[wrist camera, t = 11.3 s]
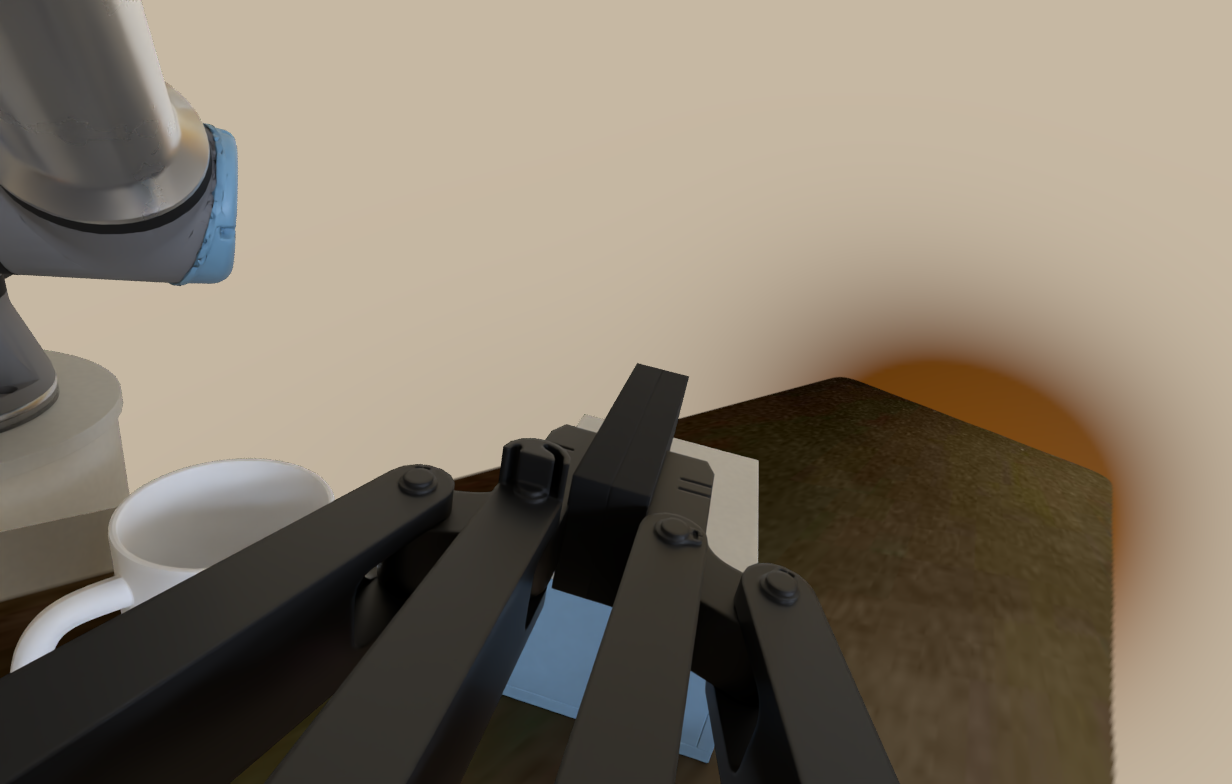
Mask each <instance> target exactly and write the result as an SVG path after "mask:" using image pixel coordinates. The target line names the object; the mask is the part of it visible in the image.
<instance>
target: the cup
mask: <svg viewBox="0 0 1232 784" xmlns="http://www.w3.org/2000/svg"><path fill="white" fill-rule="evenodd" d="M334 500H335V498H334V494H333V491H332V490H331V488H330V486H329V485H328V484H327V482H326V481H325V480H324V479H323V478H322V477H320V476H319V475H317V474H316V473H314V472H313V471H311V470H309V469H306V468H304V467H302V466H299V465H295V464H292V463H288V462H283V461H278V460H271V459H256V458H254V459H253V458H246V459H245V458H243V459H242V458H241V459H227V460H219V461H212V462H207V463H202V464H197V465H193V466H189V467H186V468H182V469H179V470H176V471H173V472H171V473H168V474H166V475H163V476H161V477H159V478H157V479H154V480H152V481H150V482H149V483H147V484H145V485H143V486H142V487H140V488H139V489H137V490H136V491H134V492H133V493H131V494H130V495H129V496H128V497H127V498H125V499H124V500H123V501H122V502H121V503H120V504H119V506H118V507H117V508H116V510H115V511H114V513H113V515H112V517H111V518H110V521H109V524H108V539H109V545H110V551H111V556H112V562H113V568H114V574H115V576H114V577H111V578H108V579H105V580H102V581H99V582H97V583H94V584H91V585H88V586H86V587H83V588H81V589H79V590H76V591H74V592H72V593H70V594H68V595H66V596H64V597H62V598H60V599H58V600H57V601H55V602H53V603H52V604H51V605H49V606H48V607H46V608H45V609H44V610H43V611H41V612H40V613H39V614H38V615H37V616H36V617H35V618H34V619H33V620H32V621H31V623H30V624H29V625H28V626H27V628H26V629H25V631H24V632H23V634H22V635H21V637H20V639H19V641H18V643H17V646H16V648H15V651H14V654H13V658H12V663H11V670H10V673H12V672H13V671H15V670H17V669H19V668H21V667H23V666H25V665H27V664H28V663H30V662H32V661H34V660H36V659H38V658H40V657H42V656H43V655H45V654H47V653H49V652H51V651H53V650H55V647H56V645H57V643H58V642H59V640H60V639H61V638H62V637H63V635H65V634H66V633H67V632H68V631H70V630H71V629H73V628H74V627H76V626H78V625H80V624H82V623H85V622H87V621H89V620H92V619H94V618H97V617H100V616H102V615H105V614H108V613H111V612H114V611H117V610H120V609H121V614H122V613H124V612H126V611H128V610H130V609H132V608H134V607H135V606H137V605H139V604H141V603H143V602H145V601H147V600H149V599H150V598H152V597H154V596H156V595H158V594H160V593H162V592H164V591H165V590H167V589H169V588H171V587H173V586H175V585H177V584H179V583H181V582H182V581H184V580H186V579H188V578H190V577H192V576H194V575H196V574H197V573H199V572H201V571H203V570H205V569H207V568H209V567H211V566H212V565H214V564H216V563H218V562H220V561H222V560H224V559H226V558H227V557H229V556H231V555H233V554H235V553H237V552H239V551H241V550H242V549H244V548H246V547H248V546H250V545H252V544H254V543H256V542H257V541H259V540H261V539H263V538H265V537H267V536H269V535H271V534H272V533H274V532H276V531H278V530H280V529H282V528H284V527H286V526H288V525H289V524H291V523H293V522H295V521H297V520H299V519H301V518H303V517H304V516H306V515H308V514H310V513H312V512H314V511H316V510H318V509H319V508H321V507H323V506H325V505H327V504H329V503H331V502H333V501H334Z"/></svg>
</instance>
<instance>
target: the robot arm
mask: <svg viewBox="0 0 1232 784" xmlns="http://www.w3.org/2000/svg"><path fill="white" fill-rule="evenodd" d="M237 159H238V158H237V146H236V142H235V139H234V137H233V136H232V134H231V133H229V132H227V131H225V130H222V129H218V128H215V127H214V126H213V125H210V124H204V123H202V121H201V119H200V117H199V116H198V114H197V112H196V111H195V109H194V108H193V107H192V106H191V105H190V103H189V102H188V101H187V100H186V99H185V98H184V97H183V96H182V95H181V94H180V93H179V92H178V91H177V90H175V89H174V88H173V87H172V86H170V85H169V84H168V83H166V82H165V81H164V78H163V75H162V71H161V68H160V64H159V61H158V57H157V54H156V50H155V47H154V43H153V40H152V36H151V33H150V29H149V26H148V22H147V19H146V15H145V12H144V8H143V5H142V1H141V0H0V433H3V432H6V431H8V430H11V429H13V428H16V427H18V426H20V425H23V424H25V423H27V422H29V421H31V420H33V419H35V418H36V417H38V416H40V415H41V414H43V413H44V412H45V411H47V410H48V409H49V408H50V407H51V406H53V404H54V403H55V402H56V401H57V399H58V397H59V385H58V380H57V375H56V372H55V370H54V367H53V365H52V363H51V361H50V359H49V358H48V356H47V355H46V353H45V352H44V351H43V349H42V348H41V346H40V345H39V343H38V342H37V340H36V339H35V337H34V336H33V334H32V333H31V331H30V330H29V329H28V327H27V326H26V324H25V323H24V321H23V320H22V318H21V317H20V315H19V314H18V312H17V311H16V310H15V308H14V307H13V305H12V304H11V302H10V300H9V297H8V293H7V289H6V284H5V278H7V277H9V276H11V275H13V274H14V275H36V276H53V277H54V276H55V277H72V278H73V277H74V278H91V279H109V280H129V281H146V282H165V283H170V284H172V285H177V286H181V285H185V284H187V283H207V284H211V283H218V282H220V281H223V280H224V279H226V278H227V277H228V276H229V275H230V273H231V271H232V268H233V262H234V253H235V227H236V217H237V186H238V183H237V182H238V175H237V174H238V161H237ZM688 378H689V377H688V376H685V375H681V374H677V373H673V372H669V371H665V370H662V369H658V368H654V367H650V366H646V365H642V364H638V363H637V365H636V366H635V368H634V370H633V372H632V373H631V375H630V377H629V379H628V380H627V382H626V384H625V385H624V387H623V389H622V390H621V392H620V394H619V396H618V397H617V399H616V401H615V403H614V404H613V406H612V408H611V409H610V411H609V413H608V415H607V417H606V418H605V420H604V422H603V423H602V425H601V427H600V428H599V430H598V432H597V433H596V432H593V431H589V430H585V429H582V428H578V427H575V426H571V425H564V426H562V427H559V428H557V429H555V430H553V431H551V433H550V434H549V435H548V437H547V438H546V440H542V439H536V438H522V439H518V440H514V441H510V442H509V443H508V444H506V445H505V446H504V447H503V454H502V461H501V469H500V476H499V483H498V484H497V486H496V487H495V488H494V489H493V491H492V492H464V491H454V483H455V482H454V481H453V479H452V477H451V475H450V474H448V473H447V472H445V471H444V470H442V469H440V468H436V467H433V466H430V465H422V464H415V465H407V466H402V467H399V468H396V469H393V470H391V471H389V472H387V473H385V474H383V475H381V476H379V477H378V478H376V479H374V480H372V481H370V482H368V483H366V484H364V485H363V486H361V487H359V488H357V489H355V490H353V491H351V492H349V493H348V494H346V495H344V496H342V497H340V498H338V499H336V500H334V501H333V502H331V503H329V504H327V505H325V506H323V507H321V508H319V509H318V510H316V511H314V512H312V513H310V514H308V515H306V516H304V517H303V518H301V519H299V520H297V521H295V522H293V523H291V524H289V525H288V526H286V527H284V528H282V529H280V530H278V531H276V532H274V533H272V534H271V535H269V536H267V537H265V538H263V539H261V540H259V541H257V542H256V543H254V544H252V545H250V546H248V547H246V548H244V549H242V550H241V551H239V552H237V553H235V554H233V555H231V556H229V557H227V558H226V559H224V560H222V561H220V562H218V563H216V564H214V565H212V566H211V567H209V568H207V569H205V570H203V571H201V572H199V573H197V574H196V575H194V576H192V577H190V578H188V579H186V580H184V581H182V582H181V583H179V584H177V585H175V586H173V587H171V588H169V589H167V590H165V591H164V592H162V593H160V594H158V595H156V596H154V597H152V598H150V599H149V600H147V601H145V602H143V603H141V604H139V605H137V606H135V607H134V608H132V609H130V610H128V611H126V612H124V613H122V614H120V615H119V616H117V617H115V618H113V619H111V620H109V621H107V622H105V623H104V624H102V625H100V626H98V627H96V628H94V629H92V630H90V631H89V632H87V633H85V634H83V635H81V636H79V637H77V638H75V639H74V640H72V641H70V642H68V643H66V644H64V645H62V646H60V647H58V648H57V649H55V650H53V651H51V652H49V653H47V654H45V655H43V656H42V657H40V658H38V659H36V660H34V661H32V662H30V663H28V664H27V665H25V666H23V667H21V668H19V669H17V670H15V671H13V672H12V673H10V674H8V675H6V676H4V677H2V678H0V784H229V783H230V782H232V781H233V780H234V779H235V778H236V777H237V776H239V775H240V774H241V773H242V772H243V771H244V770H246V769H247V768H248V767H249V766H250V765H251V764H253V763H254V762H255V761H256V760H257V759H258V758H260V757H261V756H262V755H263V754H264V753H265V752H267V751H268V750H269V749H270V748H271V747H272V746H274V745H275V744H276V743H277V742H278V741H279V740H281V739H282V738H283V737H284V736H285V735H286V734H288V733H289V732H290V731H291V730H292V729H293V728H295V727H296V726H297V725H298V724H299V723H300V722H302V721H303V720H304V719H305V718H306V717H307V716H309V715H310V714H311V713H312V712H313V711H314V710H316V709H317V708H318V707H319V706H320V705H321V704H323V703H324V702H325V701H326V700H327V699H328V698H330V697H331V696H332V695H333V694H334V695H333V696H332V697H331V698H330V700H329V701H328V702H327V703H326V705H325V706H324V707H323V709H322V710H321V711H320V712H319V714H318V715H317V716H316V718H315V719H314V720H313V721H312V723H311V724H310V725H309V727H308V728H307V729H306V730H305V732H304V733H303V734H302V736H301V737H300V738H299V739H298V741H297V742H296V743H295V745H294V746H293V747H292V748H291V750H290V751H289V752H288V753H287V755H286V756H285V757H284V759H283V760H282V761H281V762H280V764H279V765H278V766H277V768H276V769H275V770H274V771H273V773H272V774H271V775H270V777H269V778H268V779H267V780H266V782H265V783H264V784H460V782H461V780H462V778H463V776H464V774H465V772H466V770H467V767H468V765H469V763H470V761H471V759H472V757H473V755H474V753H475V751H476V748H477V746H478V744H479V742H480V740H481V738H482V736H483V734H484V731H485V729H486V727H487V725H488V723H489V721H490V719H491V717H492V714H493V712H494V710H495V708H496V706H497V704H498V702H499V700H500V698H501V695H502V693H503V691H504V689H505V687H506V685H507V683H508V681H509V678H510V676H511V674H512V672H513V670H514V668H515V666H516V664H517V661H518V659H519V657H520V655H521V653H522V651H523V649H524V647H525V645H526V642H527V640H528V638H529V636H530V634H531V632H532V630H533V628H534V625H535V623H536V621H537V619H538V617H539V615H540V613H541V611H542V608H543V606H544V602H545V596H546V591H547V586H548V584H549V582H550V580H551V578H552V576H553V574H554V577H553V582H552V589H555V590H559V591H562V592H565V593H568V594H571V595H575V596H578V597H581V598H584V599H587V600H591V601H594V602H597V603H600V604H604V605H607V606H610V607H612V610H611V613H610V616H609V619H608V622H607V625H606V628H605V631H604V634H603V637H602V640H601V643H600V646H599V649H598V653H597V656H596V659H595V662H594V665H593V668H592V671H591V674H590V677H589V680H588V683H587V686H586V689H585V692H584V695H583V698H582V701H581V704H580V707H579V710H578V713H577V716H576V719H575V722H574V725H573V728H572V731H571V734H570V738H569V741H568V744H567V747H566V750H565V753H564V756H563V759H562V762H561V765H560V768H559V771H558V774H557V777H556V780H555V783H554V784H675V778H676V771H677V764H678V757H679V749H680V742H681V735H682V728H683V721H684V714H685V706H686V699H687V692H688V685H689V678H690V671H691V672H693V673H695V674H696V675H698V676H699V677H701V678H703V679H704V680H706V683H705V694H706V700H707V705H708V711H709V717H710V723H711V728H712V734H713V740H714V745H715V751H716V757H717V763H718V768H719V774H720V780H721V784H900V783H899V781H898V779H897V776H896V774H895V772H894V770H893V767H892V765H891V763H890V761H889V758H888V756H887V754H886V752H885V749H884V747H883V745H882V743H881V740H880V738H879V736H878V733H877V731H876V729H875V727H874V724H873V722H872V720H871V718H870V715H869V713H868V711H867V709H866V706H865V704H864V702H863V700H862V697H861V695H860V693H859V691H858V688H857V686H856V684H855V681H854V679H853V677H852V675H851V672H850V670H849V668H848V666H847V663H846V661H845V659H844V657H843V654H842V652H841V650H840V648H839V645H838V643H837V641H836V639H835V636H834V634H833V632H832V629H831V627H830V625H829V623H828V620H827V618H826V616H825V614H824V611H823V609H822V607H821V605H820V602H819V600H818V598H817V596H816V593H815V592H814V590H813V589H812V588H811V586H810V585H809V583H808V582H807V581H805V580H804V579H803V578H802V577H801V576H799V575H798V574H797V573H795V572H793V571H791V570H789V569H787V568H785V567H782V566H779V565H775V564H771V563H756V564H753V565H751V566H748V567H747V568H746V569H745V571H744V572H741V571H739V570H737V569H735V568H733V567H732V566H730V565H728V564H727V563H725V562H724V561H722V560H721V559H720V558H719V557H718V556H716V555H715V554H714V552H713V551H712V550H711V548H710V547H709V545H708V539H707V535H706V530H707V523H708V516H709V509H710V502H711V495H712V487H713V482H714V475H715V474H714V472H713V471H712V469H711V467H710V465H709V463H708V461H704V460H700V459H697V458H693V457H689V456H686V455H682V454H678V453H675V452H671V451H670V448H671V444H672V441H673V437H674V433H675V429H676V425H677V421H678V417H679V413H680V409H681V406H682V402H683V398H684V394H685V390H686V386H687V382H688ZM375 566H376V567H375ZM374 567H375V568H374ZM371 569H372V570H371ZM370 570H371V571H370Z"/></svg>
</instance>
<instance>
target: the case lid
mask: <svg viewBox="0 0 1232 784" xmlns="http://www.w3.org/2000/svg"><path fill="white" fill-rule="evenodd" d="M604 420H605V419H601V418H597V417H594V416H590V415H586V414H584V416H583V417H582V419H581V420H580V422H579V423H578V425H577V426H576V427H578V428H582V429H585V430H589V431H593V432H596V433H597V432H598V430H599V428H600V427H601V425H602V423H603V422H604ZM670 451H671V452H675V453H678V454H682V455H686V456H689V457H693V458H697V459H700V460H704V461H708V463H709V465H710V467H711V469H712V471H713V472H714V474H715V475H714V482H713V487H712V495H711V502H710V509H709V516H708V523H707V530H706V535H707V539H708V545H709V547H710V548H711V550H712V551H713V552H714V554H715V555H716V556H718V557H719V558H720V559H721V560H722V561H724V562H725V563H727V564H728V565H730V566H732V567H733V568H735V569H737V570H739V571H741V572H744V571H745V569H746V568H747V567H748V566H751V565H753V564H756V563H758V460H754V459H750V458H747V457H743V456H739V455H735V454H732V453H728V452H724V451H721V450H717V449H713V448H709V447H706V446H702V445H698V444H694V443H691V442H687V441H683V440H680V439H676V438H673V441H672V444H671V448H670ZM553 577H554V574H553V576H552V578H551V579H553Z"/></svg>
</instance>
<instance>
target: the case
mask: <svg viewBox="0 0 1232 784" xmlns="http://www.w3.org/2000/svg"><path fill="white" fill-rule="evenodd" d="M552 582H553V579H551V580H550V582H549V584H548V586H547V591H546V596H545V602H544V606H543V608H542V611H541V613H540V615H539V617H538V619H537V621H536V623H535V625H534V628H533V630H532V632H531V634H530V636H529V638H528V640H527V642H526V645H525V647H524V649H523V651H522V653H521V655H520V657H519V659H518V661H517V664H516V666H515V668H514V670H513V672H512V674H511V676H510V678H509V681H508V683H507V685H506V687H505V689H504V691H503V693H502V694H503V695H506V696H509V697H512V698H515V699H518V700H521V701H524V702H527V703H530V704H532V705H535V706H538V707H541V708H544V709H547V710H550V711H553V712H556V713H559V714H562V715H565V716H568V717H571V718H574V719H576V716H577V713H578V710H579V707H580V704H581V701H582V698H583V695H584V692H585V689H586V686H587V683H588V680H589V677H590V674H591V671H592V668H593V665H594V662H595V659H596V656H597V653H598V649H599V646H600V643H601V640H602V637H603V634H604V631H605V628H606V625H607V622H608V619H609V616H610V613H611V610H612V607H610V606H607V605H604V604H600V603H597V602H594V601H591V600H587V599H584V598H581V597H578V596H575V595H571V594H568V593H565V592H562V591H559V590H555V589H552ZM705 683H706V680H704V679H703V678H701V677H699V676H698V675H696V674H695V673H693V672H691V671H690V678H689V685H688V692H687V699H686V706H685V714H684V721H683V728H682V735H681V742H680V749H679V754H682V755H685V756H688V757H691V758H694V759H697V760H700V761H703V762H706V763H708V762H709V759H710V757H711V754H712V751H713V749H714V746H715V745H714V740H713V734H712V728H711V723H710V717H709V711H708V705H707V700H706V694H705Z"/></svg>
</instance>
